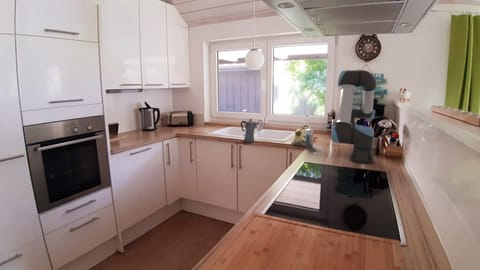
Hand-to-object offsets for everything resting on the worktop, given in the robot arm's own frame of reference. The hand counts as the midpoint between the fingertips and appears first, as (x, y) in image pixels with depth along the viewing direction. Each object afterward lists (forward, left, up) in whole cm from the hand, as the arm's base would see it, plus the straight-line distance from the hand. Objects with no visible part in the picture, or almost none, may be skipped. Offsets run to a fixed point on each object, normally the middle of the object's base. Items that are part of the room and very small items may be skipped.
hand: (323, 127), depth 211 cm
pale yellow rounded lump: (+12, +21, -17) cm, 30 cm away
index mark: (-14, +2, -17) cm, 22 cm away
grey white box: (-2, +10, -17) cm, 20 cm away
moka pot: (+2, +63, -18) cm, 65 cm away
